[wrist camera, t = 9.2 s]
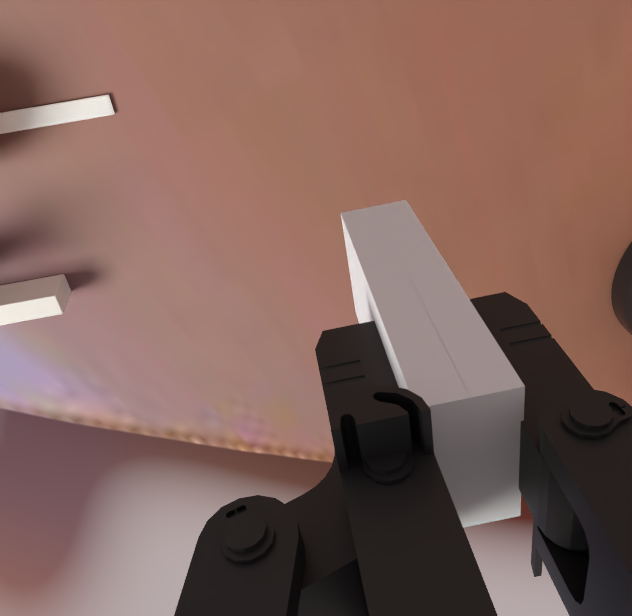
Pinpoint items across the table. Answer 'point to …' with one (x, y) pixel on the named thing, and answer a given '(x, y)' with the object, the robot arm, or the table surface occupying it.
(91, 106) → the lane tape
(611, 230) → the table surface
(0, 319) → the lane rail
